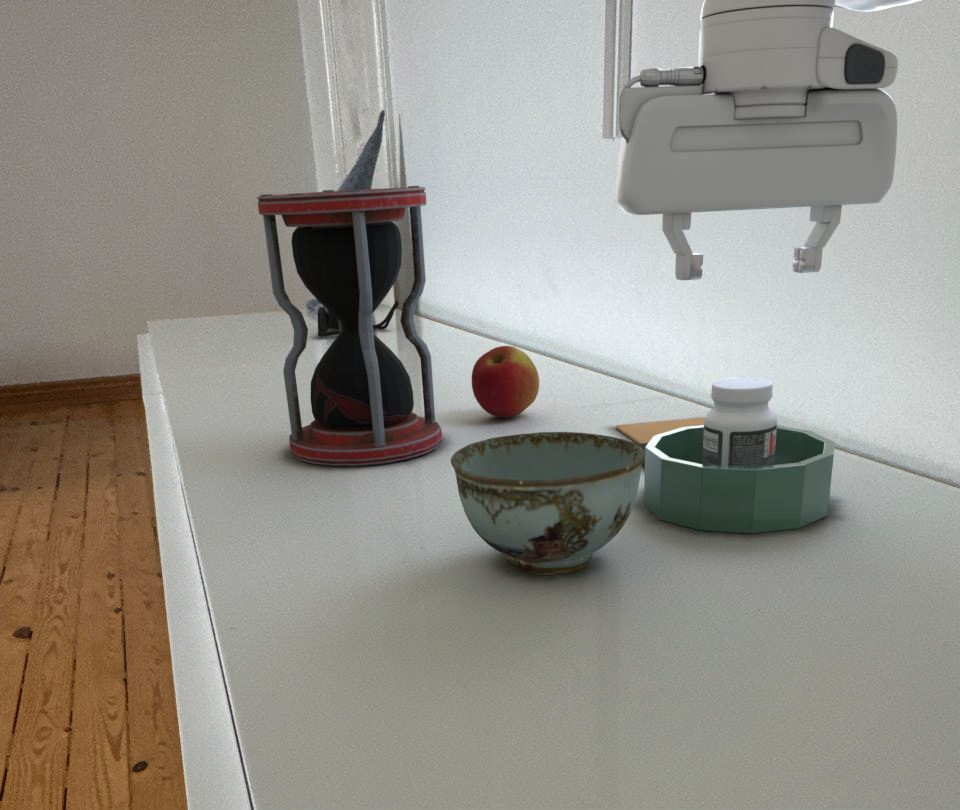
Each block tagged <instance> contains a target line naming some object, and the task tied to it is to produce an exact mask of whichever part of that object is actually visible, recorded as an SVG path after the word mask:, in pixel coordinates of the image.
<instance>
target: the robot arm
mask: <svg viewBox="0 0 960 810" xmlns="http://www.w3.org/2000/svg"><path fill="white" fill-rule="evenodd" d="M920 1H921V0H703V4H702V7H701V10H700V16H699V17H700V18H699V20H700V24H699V40H698V41H699V42H698V58H697V59H698V61H697V62H698V63H697V66H684V67H682V66H681V67H675V68H674V67H673V68H669V69H668V68H667V69H661V68H659V67H650V68H644V69H641V70H640V71H639V73H638V75H635V76H633V77H631V78H630V79H629V80H627V81H626V82H625V84H624V86H623V87H622V88H621V91H620V93H619V96H618V101H617V102H618V105H617V106H618V107H617V108H618V109H617V125H618V129H619V132H620V134H621V143H620V149H619V155H618V162H617V171H616V184H615V201H616V203H617V205H618V206H619V208H620V209H621V210H622V212H623V213H624V214H626V215H630V216H649V215H651V216H652V215H662V222H661V223H662V225H661V226H662V228H661V230H662V233H663V234H664V236H665V238H666V240H667V242H668V244H669V246H670V248H671V250H672V252H673V254H674V255H675V265H674V268H675V269H674V276H675V279H676V280H678V281H693V280H694V281H695V280H701V279H702V277H703V268H702V266H703V264H704V254H703V253H697V252H693V250H692V249H691V247H690V244H689V242H688V239H687V238H686V235H685V233H684V231H686V230H688V231H689V230H690V229H691V224H692V213H710V212H711V213H712V212H729V211H730V212H731V211H748V210H749V211H751V210H770V209H789V208H790V209H791V208H808V207H809V211H810V212H809V222H811V223H812V222H813V223H815V224H814V226H813V227H812V229H811V231H810V233H809V234H808V237H807V238H806V240H805V243H804V244H803V246H793V251H792V252H793V254H792V257H793V261H792V265H791V267H792V272H794V273H799V274H806V273H809V274H811V273H819V272H820V271H821V268H822V260H823V250H824V248H825V247H826V246H827V244H828V243H829V241H830V239H831V237H832V236H833V234H834V233H835V232H836V229H837V228H838V226H839V225H840V224H841V217H842V208H843V206H850V205H867V204H868V205H870V204H879V203H880V202H881V201H882V200H883V199H884V198H885V196H886V195H887V194H888V192H889V191H890V189H891V188H892V184H893V181H894V175H895V167H896V155H897V144H898V143H897V141H898V140H897V139H898V111H897V108H896V104H895V101H894V99H893V97H891V95H890V94H888V93H887V92H886V91H884V90H883V89H884V88H888V87H890V86H892V85H893V84H894V83H895V81H896V78H897V74H898V69H899V68H898V67H899V59H898V56H897V54H896V53H895V52H893V51H891V50H889V49H887V48H884V47H882V46H879V45H877V44H873V43H871V42H868V41H866V40H864V39H861V38H859V37H856V36H854V35H852V34H850V33H847V32H844V31H842V30H840V29H838V28H836V27H833V24H834V15H835V7H837V8H841V9H847V10H852V11H857V12H874V11H880V10H885V9H890V8H894V7H897V6H905V5H908V4H913V3H916V2H920ZM635 84H638V85H639V86H638V87H637V86H635V87H633V86H634V85H635Z"/></svg>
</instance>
